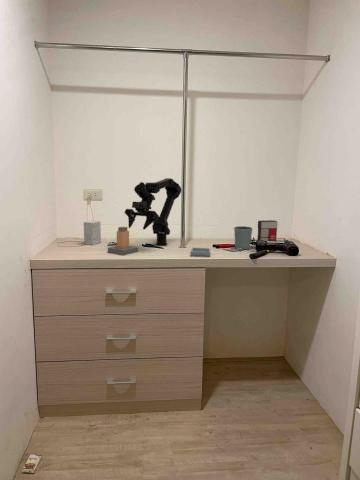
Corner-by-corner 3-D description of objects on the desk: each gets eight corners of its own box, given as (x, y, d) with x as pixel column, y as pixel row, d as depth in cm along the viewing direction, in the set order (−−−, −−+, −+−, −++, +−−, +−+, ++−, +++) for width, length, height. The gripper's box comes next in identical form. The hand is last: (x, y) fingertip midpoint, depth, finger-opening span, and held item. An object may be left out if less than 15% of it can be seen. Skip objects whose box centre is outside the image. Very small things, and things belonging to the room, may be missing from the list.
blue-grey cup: (253, 247, 219) (254, 227, 217) (248, 250, 210) (249, 229, 208) (236, 245, 224) (237, 225, 221) (230, 248, 215) (231, 227, 213)
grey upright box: (259, 246, 222) (261, 221, 219) (256, 245, 226) (257, 220, 223) (276, 246, 225) (278, 221, 222) (273, 244, 229) (274, 220, 226)
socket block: (122, 250, 204) (122, 244, 203) (138, 253, 197) (138, 247, 197) (107, 254, 195) (107, 247, 194) (123, 257, 188) (123, 250, 188)
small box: (92, 242, 226) (91, 220, 224) (101, 243, 224) (100, 221, 222) (83, 244, 219) (83, 221, 217) (92, 245, 217) (92, 222, 214)
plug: (123, 250, 199) (123, 226, 197) (129, 251, 197) (129, 227, 194) (116, 252, 195) (116, 227, 193) (122, 253, 193) (122, 228, 190)
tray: (191, 252, 204) (191, 247, 203) (210, 252, 203) (210, 248, 202) (190, 256, 194) (190, 251, 193) (210, 257, 193) (210, 252, 193)
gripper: (124, 194, 202) (114, 219, 196) (154, 195, 193) (144, 222, 188) (134, 204, 211) (124, 229, 205) (163, 207, 202) (153, 232, 197)
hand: (136, 228), depth 198 cm, fingers open, 9 cm apart
